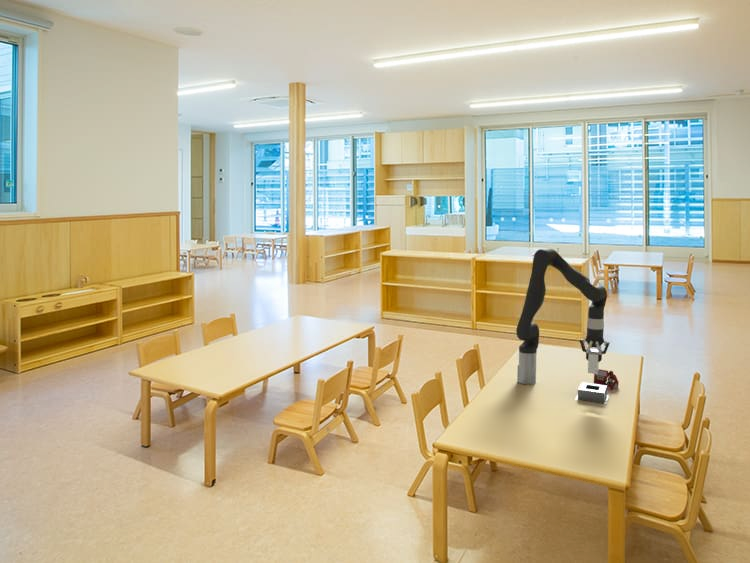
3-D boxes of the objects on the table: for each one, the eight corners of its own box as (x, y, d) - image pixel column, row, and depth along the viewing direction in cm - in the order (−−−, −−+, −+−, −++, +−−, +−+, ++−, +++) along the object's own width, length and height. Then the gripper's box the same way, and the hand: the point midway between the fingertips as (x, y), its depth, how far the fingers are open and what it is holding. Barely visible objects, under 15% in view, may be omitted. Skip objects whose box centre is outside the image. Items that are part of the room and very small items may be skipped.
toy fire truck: (616, 393, 286) (617, 374, 284) (591, 389, 293) (591, 370, 291) (619, 389, 292) (620, 370, 290) (594, 385, 299) (595, 366, 297)
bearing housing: (575, 402, 275) (575, 389, 274) (579, 393, 287) (579, 381, 286) (605, 407, 268) (606, 394, 267) (608, 397, 281) (609, 385, 280)
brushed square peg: (587, 372, 275) (588, 351, 273) (589, 370, 278) (590, 348, 277) (597, 374, 273) (598, 352, 271) (598, 371, 276) (599, 349, 275)
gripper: (578, 327, 272) (577, 361, 275) (610, 330, 265) (608, 365, 268) (581, 323, 278) (579, 357, 281) (612, 326, 272) (610, 360, 275)
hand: (593, 360), depth 275 cm, fingers closed on brushed square peg, 4 cm apart
